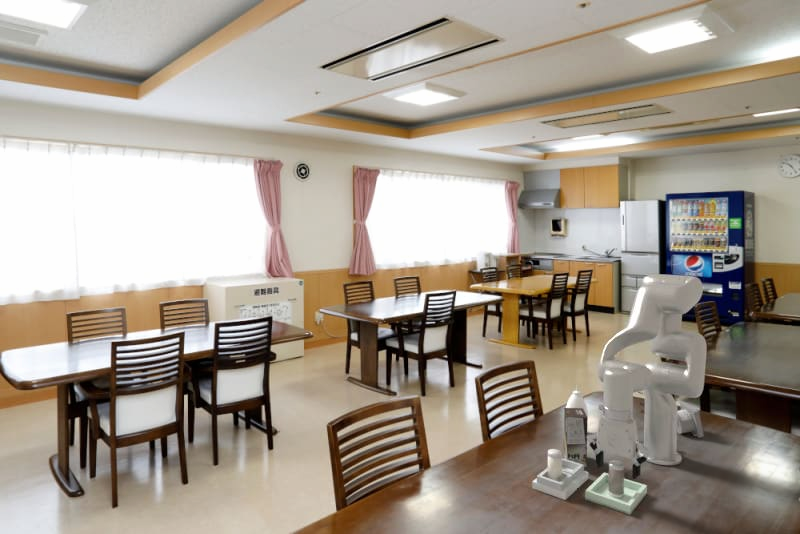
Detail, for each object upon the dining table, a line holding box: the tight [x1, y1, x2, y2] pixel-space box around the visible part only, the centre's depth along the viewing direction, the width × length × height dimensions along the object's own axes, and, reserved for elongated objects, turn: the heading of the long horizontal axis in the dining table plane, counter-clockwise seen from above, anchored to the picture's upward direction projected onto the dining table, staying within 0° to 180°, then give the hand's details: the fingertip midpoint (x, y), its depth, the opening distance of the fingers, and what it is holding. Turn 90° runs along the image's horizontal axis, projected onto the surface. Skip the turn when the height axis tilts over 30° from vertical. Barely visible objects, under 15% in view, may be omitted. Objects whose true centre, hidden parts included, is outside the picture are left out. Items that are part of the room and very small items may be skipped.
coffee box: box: [563, 407, 589, 468], centre depth 165 cm, size 9×6×16 cm
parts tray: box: [584, 472, 648, 516], centre depth 143 cm, size 14×12×2 cm
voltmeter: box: [637, 391, 705, 439], centre depth 192 cm, size 27×11×10 cm, turn 33°
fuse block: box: [531, 448, 589, 501], centre depth 151 cm, size 16×10×11 cm, turn 138°
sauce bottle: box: [565, 384, 589, 418], centre depth 187 cm, size 8×8×18 cm
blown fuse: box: [608, 459, 625, 498], centre depth 143 cm, size 4×4×9 cm
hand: (617, 471), depth 143 cm, fingers open, 9 cm apart
